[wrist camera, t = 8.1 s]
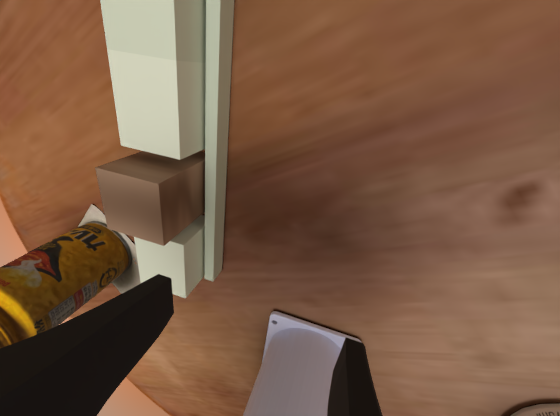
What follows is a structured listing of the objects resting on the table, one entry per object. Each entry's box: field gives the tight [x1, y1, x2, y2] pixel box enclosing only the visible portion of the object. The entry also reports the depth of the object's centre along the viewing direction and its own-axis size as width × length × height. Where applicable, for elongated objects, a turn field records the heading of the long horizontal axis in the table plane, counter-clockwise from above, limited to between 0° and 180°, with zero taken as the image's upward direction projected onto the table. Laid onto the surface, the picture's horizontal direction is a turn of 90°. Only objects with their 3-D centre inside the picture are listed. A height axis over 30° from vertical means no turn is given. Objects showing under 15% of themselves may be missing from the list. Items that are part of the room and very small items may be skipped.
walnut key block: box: [95, 151, 205, 246], centre depth 18 cm, size 4×4×6 cm
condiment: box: [0, 204, 141, 348], centre depth 22 cm, size 7×8×12 cm
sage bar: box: [100, 0, 234, 298], centre depth 18 cm, size 21×5×4 cm, turn 172°
